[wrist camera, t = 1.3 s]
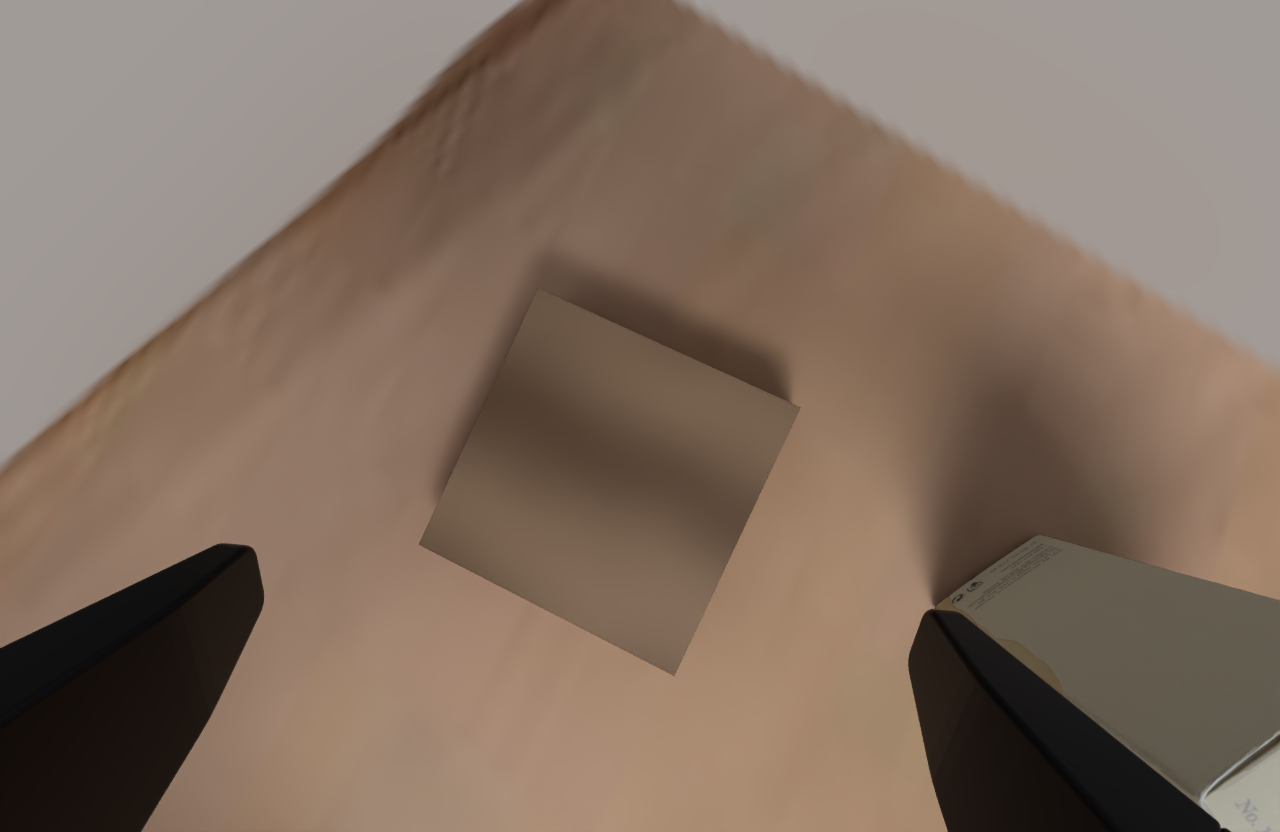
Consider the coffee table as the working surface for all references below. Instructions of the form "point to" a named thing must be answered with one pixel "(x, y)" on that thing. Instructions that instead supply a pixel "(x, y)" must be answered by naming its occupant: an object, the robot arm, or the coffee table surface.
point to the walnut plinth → (608, 479)
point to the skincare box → (1149, 665)
